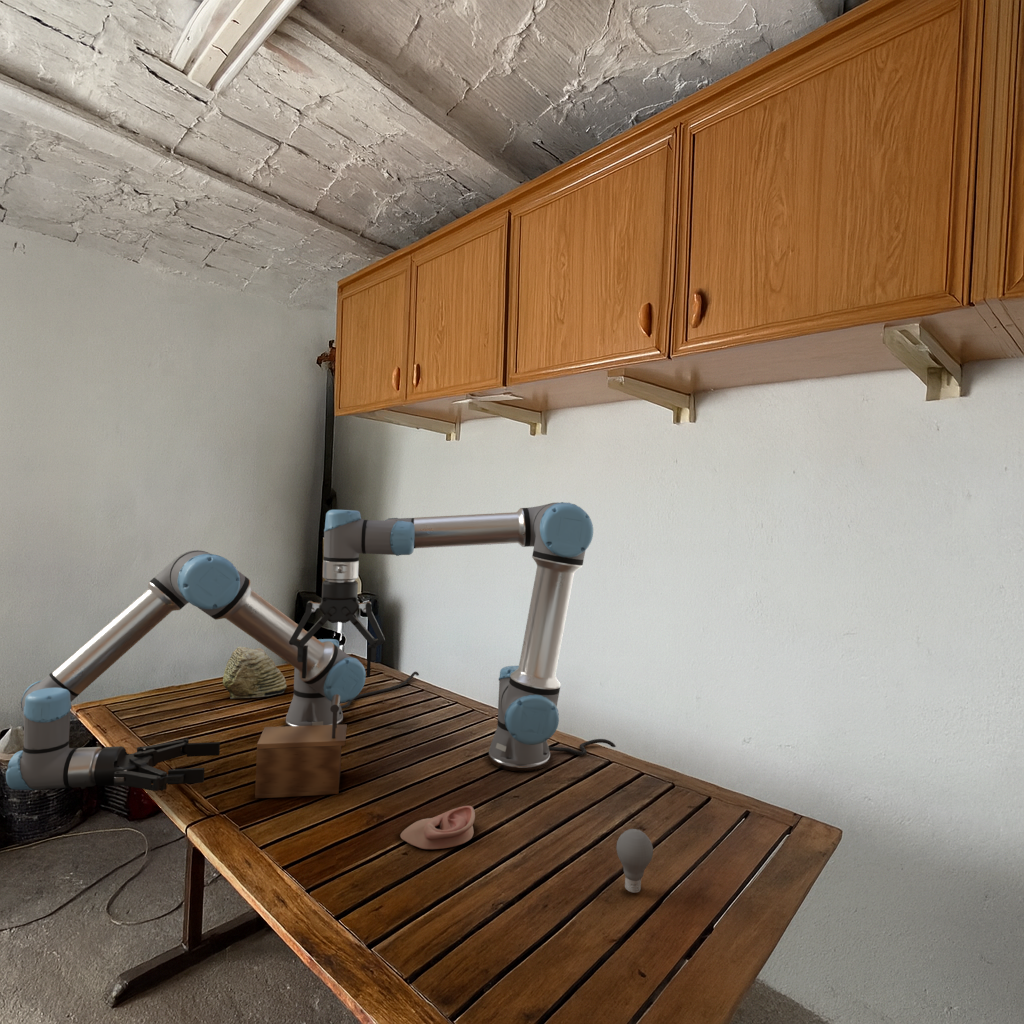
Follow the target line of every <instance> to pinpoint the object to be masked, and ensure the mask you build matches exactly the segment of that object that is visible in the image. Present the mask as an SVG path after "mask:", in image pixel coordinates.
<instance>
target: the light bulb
mask: <svg viewBox="0 0 1024 1024" xmlns="http://www.w3.org/2000/svg"><path fill="white" fill-rule="evenodd" d="M615 849H616V854H617V857H618V859H619V861H620V863H621V865H622V867H623V873H624V874H623V875H624V876H625V878H624V888H625V890H627V891H628V892H630V893H634V894H635V893H639V892H640V891H641V889H642V887H641V886H642V879H643V877H644V875H645V871H646V868H647V867H648V866H649V864H650V863H651V861H652V859H653V855H654V847H653V843H652V841H651V838H649V836H648V835H647V834H646V833H645V832H643V831H642V830H641V829H636V828H629V829H627V830H625V831H623V832H622V833H621V834H620V835H619V837H618V839H617V841H616V847H615Z"/></svg>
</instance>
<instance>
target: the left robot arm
mask: <svg viewBox="0 0 1024 1024" xmlns="http://www.w3.org/2000/svg"><path fill="white" fill-rule="evenodd" d="M251 585H252V584H251V580H250V578H249V577H247V576H245V575H244V574H243V573H242V572H241V571H239V570H238V569H237V568H236V566H234V564H233V563H232V561H230V560H228V559H227V558H226V557H223V556H221V555H218V554H213V553H210V552H208V551H205V550H198V549H196V550H195V549H194V550H188V551H186V552H184V553H182V554H179V555H178V556H176V557H175V558H174V559H173V560H172V561H171V562H169V563H168V564H167V565H166V566H165V567H164V568H162V570H161V571H159V572H158V574H156V575H155V576H154V577H153V578H152V579H150V580H149V581H148V583H147V588H146V590H144V592H142V593H141V594H140V595H139V596H138V597H137V598H135V599H134V600H133V601H132V602H131V603H130V604H129V605H127V606H126V607H125V608H124V609H122V611H120V612H119V613H118V614H117V615H116V616H115V617H113V618H111V620H110V621H109V622H107V623H106V624H105V625H104V626H103V627H102V628H101V629H100V630H98V631H97V632H96V633H95V634H94V635H93V636H92V637H90V638H89V639H88V640H87V641H86V642H84V644H82V645H81V646H80V647H79V648H78V649H76V650H75V651H73V653H72V654H71V655H69V657H67V658H66V659H65V660H64V661H63V662H61V663H60V664H59V665H58V666H57V667H55V669H53V670H52V671H51V672H50V673H49V674H47V675H46V676H45V677H44V678H43V679H42V680H41V679H40V680H37V681H35V682H33V683H32V684H29V685H28V687H27V688H26V689H24V692H23V694H22V697H21V700H20V708H21V711H22V720H23V721H22V722H23V748H22V750H19V751H16V752H15V753H14V754H12V756H11V758H10V759H9V761H8V763H7V770H6V771H5V781H6V785H7V786H8V788H10V789H11V790H14V791H33V792H35V791H40V790H53V789H72V788H80V789H81V790H82V789H83V790H85V789H86V788H88V787H89V788H90V787H95V786H98V787H112V786H113V787H114V786H115V787H120V786H121V787H130V788H135V789H140V790H141V789H142V790H147V791H152V792H158V791H165V790H167V785H170V786H171V785H185V784H187V785H188V784H202V783H204V782H205V767H195V768H193V767H192V768H174V769H173V768H171V769H168V770H167V771H165V770H161V769H159V768H156V766H157V765H158V763H159V764H160V763H163V762H167V761H169V760H173V759H176V758H180V757H184V756H186V757H188V758H189V757H191V758H193V757H212V756H220V753H221V750H220V749H221V742H220V741H214V742H213V741H211V742H209V741H208V742H190V739H189V738H183V739H179V740H174V741H167V742H164V743H158V744H152V745H143V746H138V747H136V751H135V752H134V753H128V752H127V749H126V748H125V747H124V746H123V745H122V746H121V745H120V746H119V745H118V746H117V745H116V746H104V747H102V746H92V747H90V746H89V747H70V731H71V729H70V727H71V709H72V702H73V701H74V700H75V699H76V698H77V697H79V696H80V695H81V693H83V692H84V691H85V690H86V689H87V688H88V687H90V686H91V684H93V683H94V682H96V680H98V678H99V677H101V675H103V674H104V673H105V672H106V671H107V670H109V668H110V667H112V666H113V665H114V664H115V663H116V662H117V661H118V660H119V659H120V658H122V657H123V656H124V655H125V654H126V653H127V652H129V650H131V649H132V648H133V647H134V646H135V645H136V644H137V643H139V642H140V641H141V640H142V639H143V638H144V637H145V636H146V635H148V634H149V633H150V632H151V631H152V630H153V629H154V628H155V627H156V626H158V625H159V624H160V623H161V622H162V621H163V620H164V619H165V618H166V617H167V616H169V615H170V614H171V613H172V612H174V611H181V610H182V609H183V608H184V607H185V606H186V605H188V604H191V605H192V606H193V607H196V608H198V609H199V610H200V611H202V612H203V613H205V614H206V615H208V616H209V617H210V618H212V619H214V620H215V621H217V620H223V619H225V620H227V621H228V622H230V623H231V624H232V625H234V626H235V627H237V628H238V629H240V630H241V631H243V632H244V633H246V634H247V635H248V636H249V637H251V638H252V639H254V640H255V641H256V642H257V643H259V644H261V645H262V646H264V647H265V648H267V649H268V650H269V651H270V652H272V653H274V654H275V655H276V656H278V657H279V658H281V660H284V661H285V662H286V663H288V664H289V665H291V666H292V667H293V668H294V672H293V695H292V696H293V697H292V699H291V702H290V704H289V708H288V711H287V713H286V715H285V726H313V725H332V722H333V712H331V710H330V708H331V702H332V697H333V696H334V695H335V694H338V695H340V705H339V710H338V712H337V725H342V723H343V722H344V714H343V709H347V708H349V707H350V706H351V704H352V702H353V701H354V700H356V699H360V698H363V697H369V696H372V695H373V696H374V695H376V694H381V693H386V692H390V691H393V690H396V689H399V688H402V687H403V686H405V685H407V684H408V683H409V682H410V680H412V679H413V678H414V676H420V674H419V672H418V671H413V672H412V673H411V674H410V675H409V677H407V678H406V679H405V681H403V682H401V683H399V684H398V683H397V684H396V685H393V686H389V687H385V688H381V689H378V690H372V691H368V692H364V693H361V692H362V690H363V689H364V686H365V684H366V679H367V671H366V668H365V666H364V664H363V663H362V662H361V661H360V660H359V659H358V658H356V657H352V656H351V655H349V654H348V653H346V651H344V650H343V649H341V648H340V647H341V646H340V642H339V640H338V639H334V638H323V639H322V638H319V639H317V637H316V636H314V635H313V636H312V637H311V639H310V640H309V641H308V642H307V643H306V644H305V645H304V646H308V655H307V676H306V678H302V663H303V662H298V661H297V654H298V648H297V647H296V646H294V645H290V644H289V641H290V639H291V637H292V635H293V633H294V632H295V630H296V628H297V626H298V625H299V623H296V622H295V621H294V620H293V619H291V618H290V617H289V616H287V615H286V614H285V613H283V612H282V611H281V610H279V609H278V608H277V607H276V606H275V605H273V604H271V603H270V602H269V601H268V600H266V599H264V597H262V596H261V595H260V594H258V593H257V592H256V591H254V590H253V589H252V588H251V587H252V586H251ZM307 632H308V631H307V630H305V628H303V629H302V631H301V633H300V635H299V636H298V638H297V639H299V640H301V639H302V638H303V637H304V636H305V634H306V633H307Z"/></svg>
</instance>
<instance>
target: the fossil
mask: <svg viewBox="0 0 1024 1024" xmlns="http://www.w3.org/2000/svg"><path fill="white" fill-rule="evenodd" d="M222 676H223V677H222V685H223V687H224V688H225V690H226V691H228V693H229V698H230V699H250V698H264V697H271V696H275V695H281V694H284V693H285V691H286V689H287V687H288V686H287V680H286V678H285V676H284V674H283V673H282V672H281V669H279V668H278V667H277V665H276V663H275V662H274V660H273V659H272V658H271V657H270V656H269V655H268V654H267V653H266V652H265V650H264V649H263V648H260V647H258V648H251V647H247V646H246V647H245V646H238V647H237V648H236V649H235V650H233V651H232V653H231V656H230V657H229V659H228V660H227V663H226V666H225V668H224V671H223V675H222Z"/></svg>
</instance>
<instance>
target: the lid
mask: <svg viewBox="0 0 1024 1024" xmlns="http://www.w3.org/2000/svg"><path fill="white" fill-rule="evenodd" d="M339 705H340V706H341V703H340V695H338V694H335V695H334V696H333V697H332V702H331V708H330V710H331V712H333V722H332V725H313V726H286V725H285V726H284V725H283V726H265V727H263V730H262V733H261V734H260V737H259V739H258V741H257V743H256V750H257V749H269V748H294V747H319V746H341V747H342V746H346V739H347V729H348V727H347V725H348V724H345V723H344V724H340V725H337V712H338V710H339Z"/></svg>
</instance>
